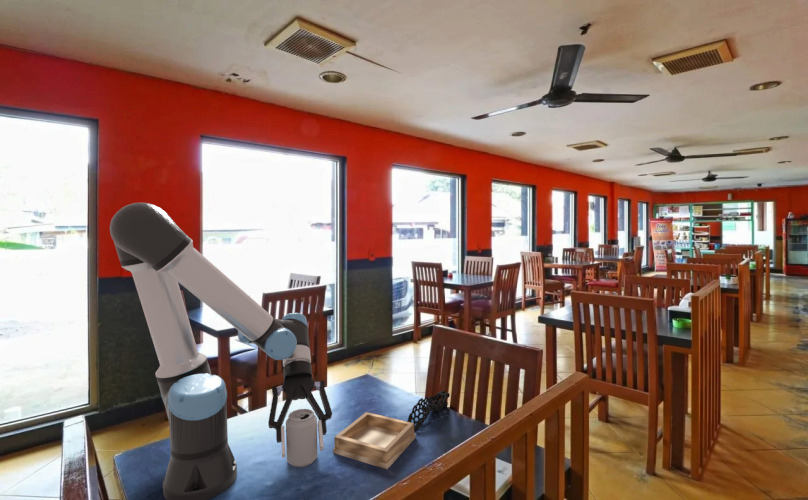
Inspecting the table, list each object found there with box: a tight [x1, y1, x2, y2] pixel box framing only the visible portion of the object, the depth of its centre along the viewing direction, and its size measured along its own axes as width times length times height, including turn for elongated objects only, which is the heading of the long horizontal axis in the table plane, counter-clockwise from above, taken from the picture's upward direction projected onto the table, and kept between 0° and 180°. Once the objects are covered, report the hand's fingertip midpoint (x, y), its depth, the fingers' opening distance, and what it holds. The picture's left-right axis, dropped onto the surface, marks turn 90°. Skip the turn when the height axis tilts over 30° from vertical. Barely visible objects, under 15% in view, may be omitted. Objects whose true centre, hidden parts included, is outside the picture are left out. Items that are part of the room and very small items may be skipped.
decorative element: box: [406, 390, 451, 433], centre depth 124 cm, size 22×5×6 cm, turn 149°
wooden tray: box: [332, 411, 416, 470], centre depth 107 cm, size 16×16×4 cm
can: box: [285, 408, 318, 468], centre depth 100 cm, size 8×8×12 cm
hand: (303, 452), depth 97 cm, fingers open, 8 cm apart
